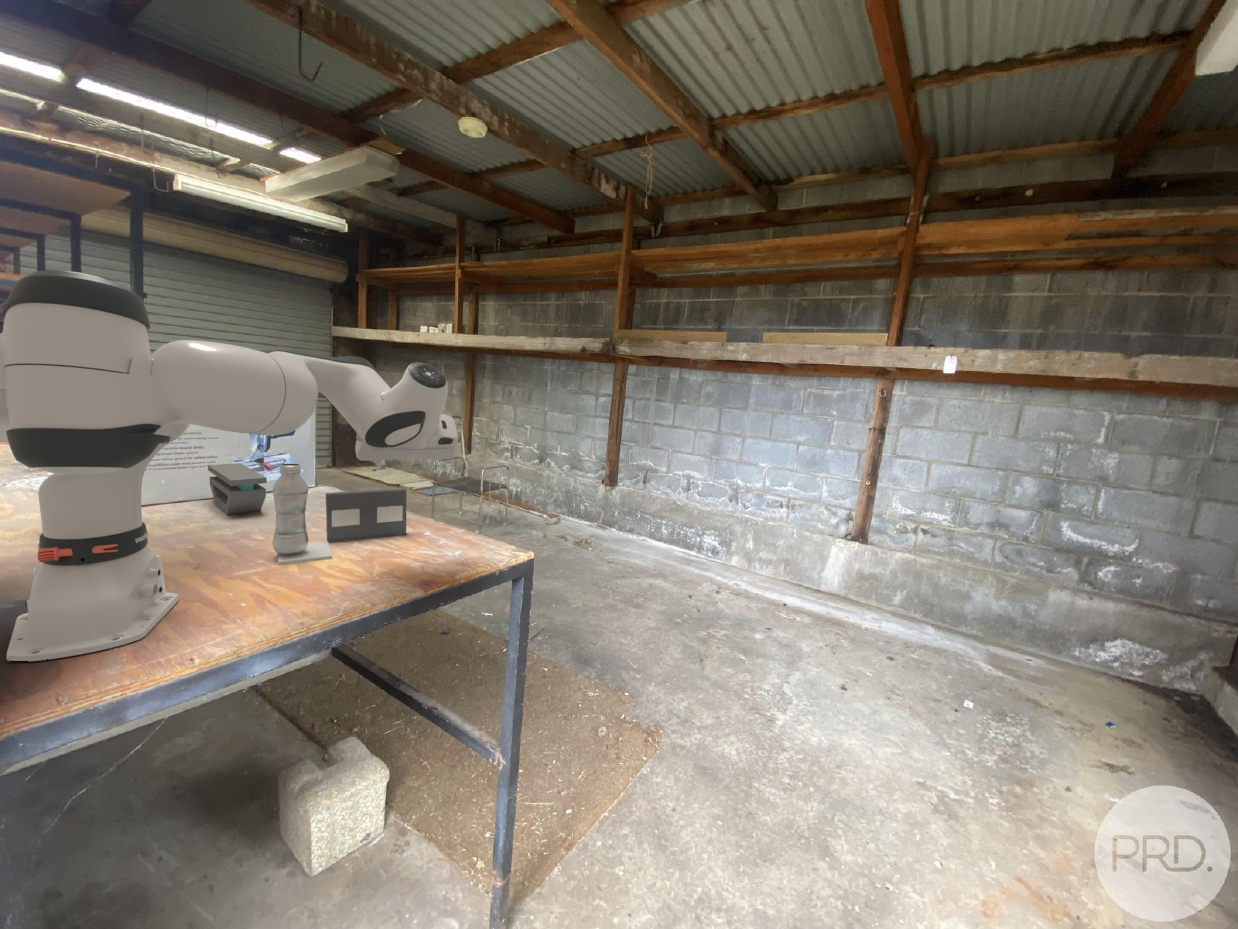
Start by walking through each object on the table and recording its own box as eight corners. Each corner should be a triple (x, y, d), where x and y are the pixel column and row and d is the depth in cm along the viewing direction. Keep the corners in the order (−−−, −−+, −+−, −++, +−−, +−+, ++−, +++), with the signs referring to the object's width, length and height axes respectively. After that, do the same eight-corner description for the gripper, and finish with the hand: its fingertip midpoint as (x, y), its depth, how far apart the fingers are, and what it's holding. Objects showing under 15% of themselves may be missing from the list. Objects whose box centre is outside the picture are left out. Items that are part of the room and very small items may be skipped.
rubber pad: (332, 558, 112) (332, 555, 112) (278, 564, 106) (278, 562, 106) (327, 543, 121) (327, 541, 121) (277, 548, 115) (277, 546, 115)
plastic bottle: (275, 549, 113) (274, 462, 110) (310, 548, 116) (310, 462, 113) (269, 558, 107) (268, 466, 104) (306, 556, 110) (306, 466, 107)
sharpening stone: (210, 501, 148) (207, 465, 147) (242, 497, 154) (240, 463, 153) (233, 520, 133) (231, 480, 131) (268, 515, 139) (266, 477, 137)
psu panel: (406, 534, 131) (406, 490, 129) (327, 543, 121) (326, 495, 119) (404, 532, 133) (404, 488, 131) (326, 540, 123) (325, 492, 121)
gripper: (359, 439, 96) (353, 480, 105) (465, 439, 107) (451, 475, 117) (355, 414, 98) (350, 456, 108) (459, 416, 110) (446, 454, 119)
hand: (403, 466), depth 112 cm, fingers open, 8 cm apart
